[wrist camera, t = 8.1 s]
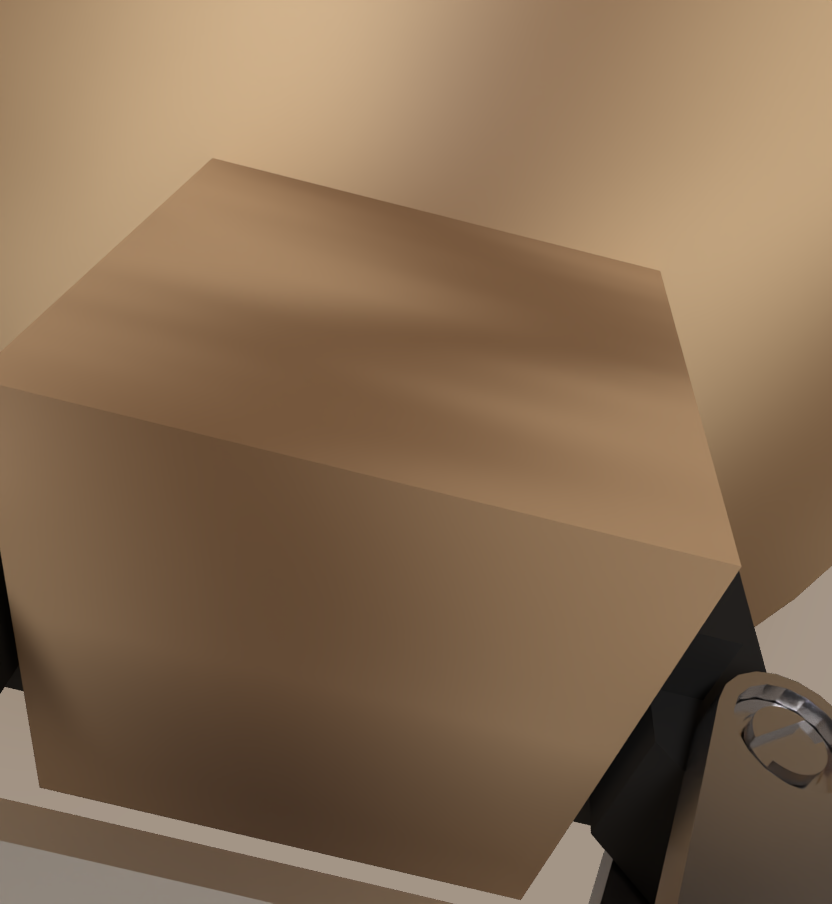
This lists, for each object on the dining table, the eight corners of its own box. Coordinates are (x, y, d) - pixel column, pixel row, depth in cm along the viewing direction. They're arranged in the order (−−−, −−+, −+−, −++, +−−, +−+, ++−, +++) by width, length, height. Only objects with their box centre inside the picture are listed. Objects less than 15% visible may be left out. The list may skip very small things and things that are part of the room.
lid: (1232, -57, 8) (2280, 82, 3) (670, 730, 16) (720, 1089, 12) (-169, -430, 8) (-1379, -906, 3) (0, 570, 16) (-229, 871, 11)
